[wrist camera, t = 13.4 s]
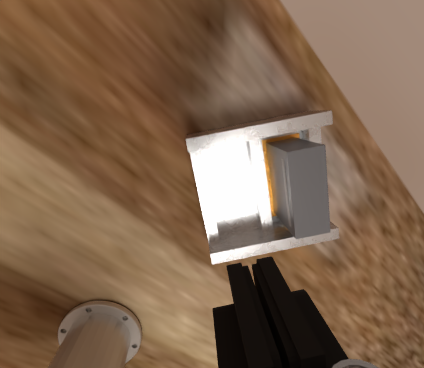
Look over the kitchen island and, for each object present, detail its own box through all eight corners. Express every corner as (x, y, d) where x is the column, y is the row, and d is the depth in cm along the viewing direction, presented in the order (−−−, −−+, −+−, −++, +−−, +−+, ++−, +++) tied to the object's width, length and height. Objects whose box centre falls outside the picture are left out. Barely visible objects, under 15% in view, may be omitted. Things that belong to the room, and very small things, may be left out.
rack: (317, 221, 39) (339, 240, 33) (209, 243, 39) (212, 266, 33) (308, 110, 35) (331, 110, 29) (186, 134, 34) (185, 139, 29)
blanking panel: (302, 207, 37) (330, 232, 29) (274, 212, 37) (295, 239, 29) (295, 137, 34) (325, 144, 27) (265, 143, 34) (286, 152, 27)
